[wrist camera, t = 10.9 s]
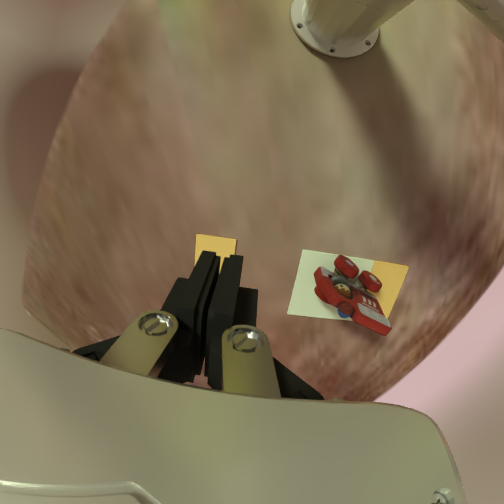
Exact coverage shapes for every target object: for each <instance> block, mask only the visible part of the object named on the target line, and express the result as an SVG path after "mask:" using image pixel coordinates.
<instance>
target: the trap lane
mask: <svg viewBox="0 0 504 504" xmlns="http://www.w3.org/2000/svg"><path fill="white" fill-rule="evenodd" d="M235 247H236V239H230V238H223V237H216V236H209V235H202V234H197V236H196V251H195V265H196V263H197V261H198V259H199V257H200V255H201V252H202V251H203V250H205V251H212V252H216V256H221V261H220V270H221V267H222V264H223V260H224V257H230V254H232V255H235ZM338 256H339V255H336V254H330V253H323V252H317V251H310V250H304V249H303V250H302V255H301V259H300V263H299V268H298V272H297V276H296V280H295V284H294V288H293V292H292V296H291V300H290V304H289V308H288V312H287V314H291V315H299V316H308V317H318V318H328V319H338V320H349V321H353V320H352V319H351V318H350V317H348V318H342V317H340V316H339V314H338V311H337V309H338V308H336V307H334V306H332V305H330V304H327V303H325V302H323V301H322V300H320V299H319V298H318V296H317V295H316V294H315V291H314V288H315V287H316V283H315V278H314V272H315V271H316V270H317V268H318V267H324V268H325V269H327V270H329V271H331V272H334V270H335V268H336V267H335V265H334V261H335V259H336V258H337V257H338ZM345 257H347V258H349V259H350V260H351V261H352V262H353V263H355V264H356V265H357V267H358V268H359V273H358V274H357V276H356V277H355V278H354V279H352V278H348V281H349V282H351V283H353V284H355V285H357V286H361V287H363V285H362V283H361V282H360V281H359V279H358V277H359V275H360V274H361V272H362V271H363V270H366V271H369V272H370V273H372V274H373V275H375V276H376V277H377V278H378V279H379V280H380V281H381V283H382V288H381V289H380V290H379V292H377V293H374V292H371V291H370V290H368V289H367V291H368V292H369V293H371V294H373V295H374V296H375V297H376V298H377V300H378V302H379V304H380V307H381V309H382V311H383V313H384V315H385V317H386V318H388V316H389V314H390V312H391V310H392V307H393V305H394V303H395V300H396V298H397V296H398V293H399V291H400V288H401V286H402V284H403V281H404V279H405V276H406V273H407V271H408V268H409V266H406V265H399V264H393V263H387V262H381V261H375V260H368V259H362V258H356V257H349V256H345ZM219 273H220V271H219Z"/></svg>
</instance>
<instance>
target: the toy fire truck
mask: <svg viewBox="0 0 504 504" xmlns="http://www.w3.org/2000/svg"><path fill="white" fill-rule="evenodd" d="M334 265H335V267H336V268H335V270H334V272H331V271H329V270H327V269H325V268H324V267H318V268H317V270H316V271H315V272H314V278H315V283H316V287H315V288H314V291H315V294H316V295H317V296H318V298H319V299H320V300H322V301H323V302H325V303H327V304H330V305H332V306H334V307H336V308H338V309H337V311H338V314H339V316H340V317H342V318H348V317H350V318H351V319H352V320H353V321H354V322H355V323H358V324H360V325H362V326H364V327H366V328H368V329H371V330H373V331H375V332H377V333H379V334H381V335H384V336H386V335H387V334H388V333H389V332H390V330H391V329H392V327H391V324H390V322H389V320H388V319H387V318H386V317H385V315H384V313H383V311H382V309H381V307H380V304H379V302H378V300H377V298H376V297H375V296H374V295H373V294H371V293H369V292H368V291H367V289H368V290H370V291H371V292H374V293H377V292H379V290H380V289H381V288H382V283H381V281H380V280H379V279H378V278H377V277H376V276H375V275H373V274H372V273H370V272H369V271H366V270H363V271H362V272H361V274H360V275H359V277H358V279H359V281H360V282H361V283H362V285H363V287H361V286H357V285H355V284H353V283H351V282H349V281H348V278H352V279H354V278H355V277H356V276H357V274H358V273H359V268H358V267H357V265H356V264H355V263H353V262H352V261H351V260H350V259H349V258H347V257H345V256H343V255H339V256H338V257H337V258H336V259H335V261H334Z"/></svg>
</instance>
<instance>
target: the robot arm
mask: <svg viewBox="0 0 504 504" xmlns="http://www.w3.org/2000/svg"><path fill="white" fill-rule="evenodd" d="M413 1H414V0H294V1H293V2H292V5H291V9H290V20H291V24H292V27H293V29H294V30H295V32H296V34H297V35H298V36H299V38H300V39H301V40H302V41H303V42H304V43H305V44H307V45H308V46H309V47H311V48H312V49H314V50H316V51H318V52H320V53H322V54H324V55H328V56H331V57H337V58H351V57H356V56H359V55H361V54H363V53H365V52H366V51H368V50H369V49H370V48H371V47H373V45H374V44H375V42H376V41H377V38H378V35H379V27H380V26H381V25H382V24H384V23H385V22H386V21H388V20H389V19H390V18H391V17H393V16H394V15H395V14H397V13H398V12H399V11H401V10H402V9H403V8H405V7H406V6H407V5H409V4H410V3H411V2H413ZM457 1H458V2H459V3H461V4H462V5H463V6H464V7H465V8H466V9H467V10H468V11H469V12H470V13H471V14H473V15H474V16H475V17H476V18H477V19H478V20H479V21H480V22H481V23H482V24H483V25H484V26H485V27H486V28H487V29H488V30H489V31H490V32H491V33H492V34H493V35H495V36H496V37H497V38H498V39H499V40H501V41H502V42H503V43H504V0H457ZM298 27H301V28H298ZM365 43H366V44H367V45H366V44H365ZM330 50H332V51H333V53H332V52H330ZM220 261H221V256H216V252H212V251H205V250H203V251H202V252H201V255H200V257H199V259H198V261H197V263H196V265H195V267H194V269H193V271H192V273H191V275H190V277H189V279H186V278H180V277H179V278H178V279H177V280H176V282H175V284H174V286H173V287H172V289H171V291H170V293H169V295H168V297H167V299H166V301H165V303H164V304H163V306H162V308H161V310H151V311H146V312H144V313H142V314H140V315H139V316H138V317H136V318H135V320H134V321H133V322H132V323H131V324H130V325H129V327H128V328H127V329H126V330H125V331H124V332H123V334H122V335H120V336H117V337H114V338H111V339H108V340H104V341H101V342H98V343H95V344H91V345H88V346H85V347H81V348H79V349H77V350H74V351H73V352H70V350H69V349H64V348H58V347H55V346H53V345H50V344H48V343H45V342H42V341H39V340H37V339H34V338H32V337H29V336H27V335H24V334H22V333H19V332H15V331H12V330H9V329H3V328H0V504H467V501H466V496H465V492H464V488H463V485H462V481H461V478H460V475H459V472H458V469H457V466H456V463H455V460H454V457H453V455H452V452H451V450H450V447H449V445H448V443H447V441H446V439H445V437H444V435H443V433H442V432H441V430H440V428H439V427H438V425H437V424H436V423H435V422H434V421H433V420H432V419H431V418H430V417H429V416H427V415H426V414H424V413H422V412H419V411H417V410H414V409H411V408H407V407H404V406H400V405H394V404H388V403H380V402H368V401H347V400H342V399H337V398H331V400H325V399H324V398H323V396H322V395H321V394H320V393H319V392H318V391H316V390H315V389H314V388H312V387H311V386H310V385H308V384H307V383H306V382H304V381H303V380H302V379H300V378H299V377H298V376H296V375H295V374H294V373H293V372H291V371H290V370H289V369H288V368H286V367H285V366H284V365H282V364H281V363H280V362H279V361H277V360H276V359H275V358H274V357H272V353H271V348H270V344H269V340H268V338H267V335H266V334H265V333H264V332H263V331H261V330H260V329H258V328H256V317H257V299H258V289H251V288H244V287H239V285H240V278H241V271H242V264H243V256H239V255H232V254H230V257H224V260H223V264H222V267H221V270H220ZM219 271H220V273H219ZM204 358H205V373H204V376H206V377H208V385H209V386H210V387H211V388H212V389H209V388H204V387H198V386H193V385H188V384H183V383H185V382H192V383H193V381H194V377H195V375H200V374H201V370H202V366H203V362H204Z"/></svg>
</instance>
